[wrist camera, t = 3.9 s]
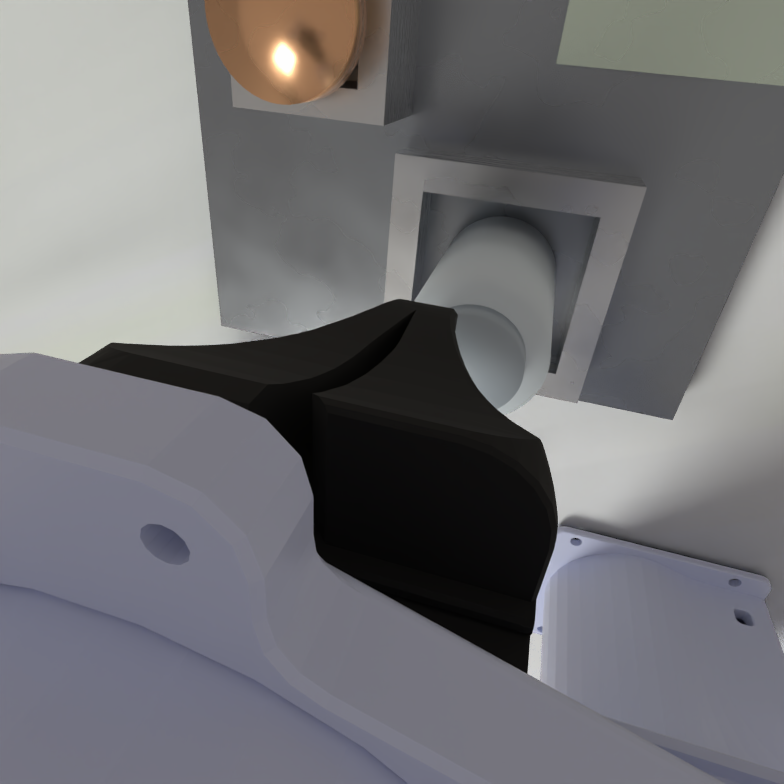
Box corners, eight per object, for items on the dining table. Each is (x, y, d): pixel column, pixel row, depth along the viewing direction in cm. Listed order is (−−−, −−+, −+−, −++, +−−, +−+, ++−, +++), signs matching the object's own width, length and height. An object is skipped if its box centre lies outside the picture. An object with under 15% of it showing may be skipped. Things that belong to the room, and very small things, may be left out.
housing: (999, -358, 11) (1205, -558, 7) (667, 403, 21) (687, 473, 18) (179, -326, 15) (51, -451, 11) (235, 315, 25) (179, 358, 21)
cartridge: (568, 225, 18) (568, 308, 12) (541, 333, 20) (529, 447, 14) (451, 208, 19) (396, 277, 13) (436, 313, 21) (384, 414, 15)
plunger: (406, -56, 15) (357, -90, 11) (394, 101, 17) (350, 112, 13) (278, -64, 15) (195, -98, 12) (282, 88, 17) (212, 96, 14)
